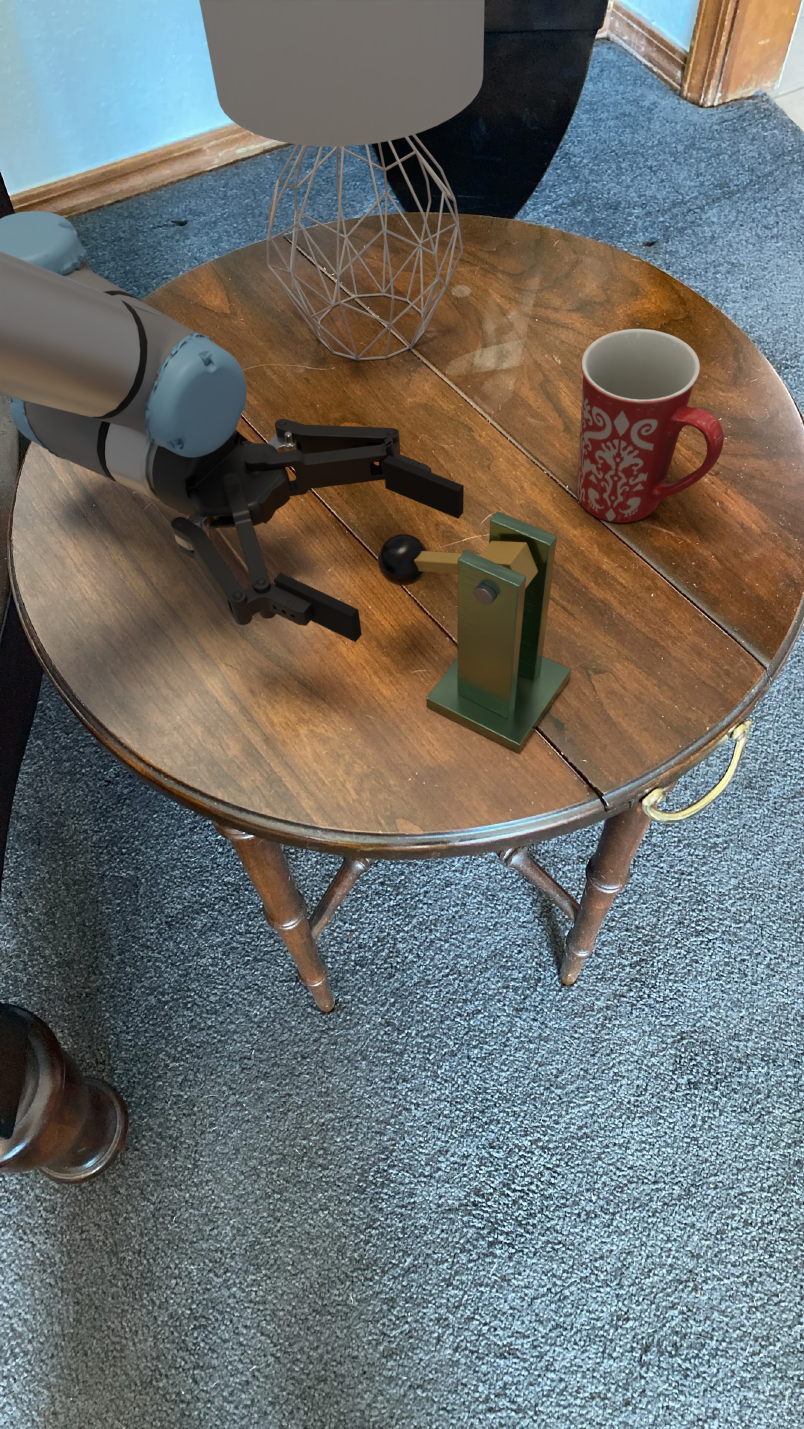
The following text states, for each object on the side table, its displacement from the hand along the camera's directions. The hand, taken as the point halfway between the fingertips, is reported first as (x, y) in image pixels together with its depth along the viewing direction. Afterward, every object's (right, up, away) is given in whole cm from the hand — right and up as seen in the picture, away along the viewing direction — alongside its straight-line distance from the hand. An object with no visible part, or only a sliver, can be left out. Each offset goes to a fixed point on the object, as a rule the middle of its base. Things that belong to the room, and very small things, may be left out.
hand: (411, 561), depth 68 cm
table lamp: (-4, +30, +33) cm, 44 cm away
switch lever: (+3, -2, -2) cm, 4 cm away
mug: (+19, +7, +17) cm, 27 cm away
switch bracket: (+7, -9, +6) cm, 13 cm away
